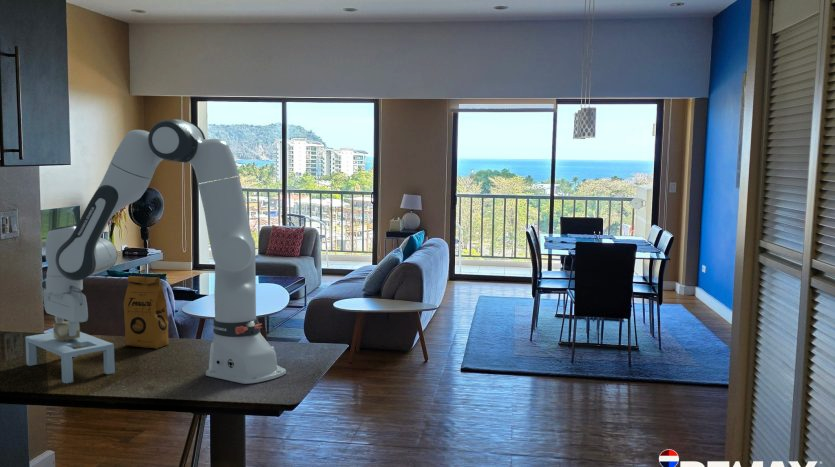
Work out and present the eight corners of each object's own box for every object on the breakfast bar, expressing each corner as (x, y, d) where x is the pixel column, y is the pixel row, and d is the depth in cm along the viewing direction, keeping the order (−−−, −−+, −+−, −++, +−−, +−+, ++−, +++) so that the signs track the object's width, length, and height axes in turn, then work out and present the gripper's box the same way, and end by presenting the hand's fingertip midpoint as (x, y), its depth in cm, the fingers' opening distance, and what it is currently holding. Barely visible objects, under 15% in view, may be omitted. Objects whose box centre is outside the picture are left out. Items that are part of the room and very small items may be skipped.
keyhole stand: (114, 372, 190) (113, 344, 190) (65, 383, 181) (64, 353, 180) (73, 355, 207) (72, 329, 207) (26, 364, 198) (25, 336, 197)
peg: (80, 353, 194) (79, 323, 194) (61, 356, 191) (60, 326, 190) (72, 349, 198) (71, 320, 197) (54, 353, 194) (53, 323, 193)
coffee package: (154, 351, 213) (152, 279, 211) (120, 348, 216) (117, 277, 214) (174, 343, 222) (172, 275, 220) (141, 340, 226) (139, 273, 224)
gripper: (93, 287, 188) (95, 337, 189) (61, 279, 201) (63, 326, 203) (69, 290, 183) (71, 342, 185) (38, 281, 197) (40, 329, 198)
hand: (66, 333), depth 194 cm, fingers closed on peg, 5 cm apart
